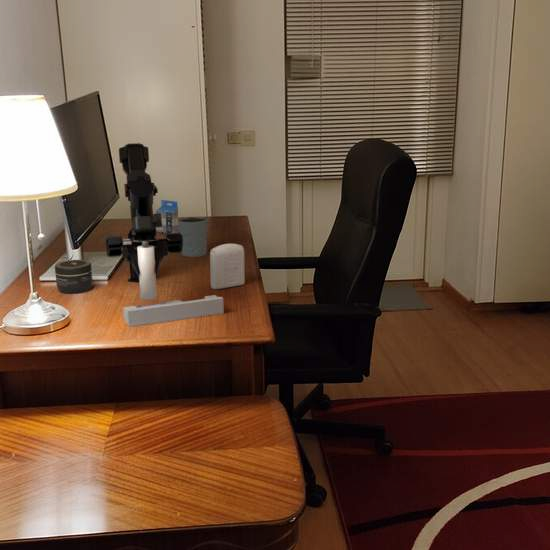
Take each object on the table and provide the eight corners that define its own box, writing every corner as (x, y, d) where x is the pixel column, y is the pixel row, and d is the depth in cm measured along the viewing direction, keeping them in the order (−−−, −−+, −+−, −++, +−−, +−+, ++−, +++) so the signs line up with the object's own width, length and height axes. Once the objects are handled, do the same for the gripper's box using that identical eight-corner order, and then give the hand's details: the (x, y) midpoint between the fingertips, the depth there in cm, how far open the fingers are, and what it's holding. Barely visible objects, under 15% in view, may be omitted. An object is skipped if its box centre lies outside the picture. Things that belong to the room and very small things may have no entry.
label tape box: (155, 232, 268) (153, 200, 264) (163, 230, 271) (161, 199, 267) (172, 234, 263) (170, 203, 259) (179, 232, 266) (178, 201, 263)
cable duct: (129, 326, 165) (128, 311, 164) (123, 318, 171) (122, 303, 170) (223, 313, 174) (223, 298, 173) (215, 305, 180) (215, 291, 179)
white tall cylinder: (139, 300, 169) (135, 243, 165) (141, 295, 172) (138, 239, 168) (155, 300, 169) (152, 242, 165) (157, 295, 173) (154, 239, 169)
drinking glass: (184, 258, 227) (182, 223, 224) (175, 252, 236) (173, 217, 233) (213, 255, 231) (211, 220, 228) (203, 249, 240) (202, 215, 237)
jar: (76, 282, 202) (73, 257, 199) (100, 287, 197) (98, 261, 194) (49, 291, 193) (46, 265, 191) (74, 296, 188) (72, 270, 186)
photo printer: (239, 281, 201) (238, 240, 198) (247, 284, 198) (246, 243, 195) (208, 287, 196) (207, 245, 193) (215, 291, 193) (214, 248, 189)
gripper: (103, 204, 166) (106, 259, 159) (180, 200, 170) (187, 254, 163) (105, 229, 175) (108, 282, 168) (178, 225, 179) (185, 277, 172)
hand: (147, 273), depth 168 cm, fingers closed on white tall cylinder, 4 cm apart
